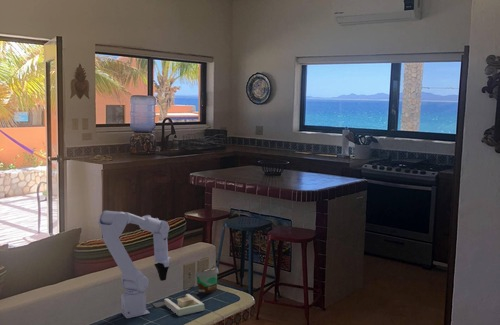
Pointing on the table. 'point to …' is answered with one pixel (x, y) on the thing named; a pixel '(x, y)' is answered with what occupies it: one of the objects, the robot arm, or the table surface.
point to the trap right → (195, 296)
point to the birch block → (185, 302)
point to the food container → (207, 280)
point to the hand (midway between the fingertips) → (163, 280)
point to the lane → (185, 310)
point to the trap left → (159, 304)
